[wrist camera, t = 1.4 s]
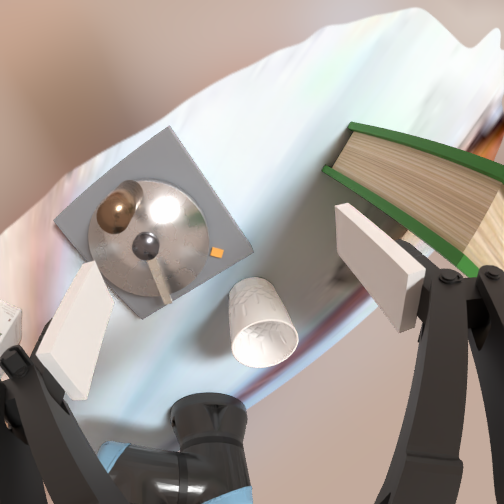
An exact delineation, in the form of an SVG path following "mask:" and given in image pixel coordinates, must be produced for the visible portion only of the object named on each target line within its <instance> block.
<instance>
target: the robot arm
mask: <svg viewBox="0 0 504 504" xmlns="http://www.w3.org/2000/svg"><path fill="white" fill-rule="evenodd" d="M335 219H336V239H337V253H338V255H339V256H340V257H341V258H342V260H343V261H344V262H345V263H346V265H347V266H348V267H349V268H350V270H351V271H352V272H353V273H354V275H355V276H356V277H357V279H358V280H359V281H360V282H361V284H362V285H363V286H364V288H365V289H366V290H367V291H368V293H369V294H370V295H371V297H372V298H373V299H374V301H375V302H376V303H377V305H378V306H379V307H380V309H381V310H382V311H383V313H384V314H385V315H386V317H387V318H388V319H389V321H390V322H391V323H392V325H393V326H394V328H395V329H396V330H397V332H398V333H401V332H404V331H407V330H409V329H412V328H414V327H415V323H416V319H417V316H418V317H419V318H420V319H421V321H422V322H423V323H422V327H421V331H420V335H419V339H418V342H419V347H418V353H417V359H416V365H415V370H414V376H413V381H412V386H411V391H410V396H409V400H408V404H407V408H406V412H405V416H404V420H403V424H402V428H401V432H400V435H399V439H398V442H397V446H396V449H395V452H394V455H393V458H392V461H391V464H390V467H389V470H388V473H387V476H386V479H385V482H384V484H383V486H382V488H381V490H380V492H379V494H378V496H377V499H376V501H375V503H374V504H455V503H456V500H457V496H458V492H459V488H460V483H461V479H462V473H463V462H462V461H461V460H460V459H459V449H460V443H461V437H462V430H463V422H464V413H465V403H466V390H467V370H468V340H469V344H470V347H471V351H472V354H473V358H474V362H475V366H476V369H477V374H478V378H479V382H480V387H481V391H482V396H483V401H484V405H485V411H486V417H487V422H488V430H489V436H490V444H491V452H492V463H493V475H494V487H495V496H496V501H497V504H504V271H503V270H502V269H500V268H499V267H497V266H494V265H484V266H482V267H480V268H479V271H478V275H477V277H472V278H463V276H462V275H461V274H460V273H458V272H456V271H454V270H451V269H439V268H438V267H437V266H436V265H434V264H433V263H432V262H431V261H430V260H429V259H428V258H427V257H425V256H424V255H422V253H421V252H420V251H418V250H417V249H416V248H415V247H414V246H412V245H411V244H410V243H408V242H406V241H403V240H401V239H398V240H395V241H394V240H393V239H392V238H390V237H389V236H388V235H387V234H386V233H385V232H383V231H382V230H381V229H380V228H379V227H377V226H376V225H375V224H374V223H373V222H371V221H370V220H369V219H368V218H367V217H365V216H364V215H363V214H362V213H360V212H359V211H358V210H357V209H355V208H354V207H353V206H352V205H350V204H349V203H345V204H340V205H335ZM113 306H114V301H113V299H112V297H111V295H110V293H109V291H108V288H107V286H106V284H105V282H104V280H103V278H102V275H101V273H100V271H99V269H98V267H97V264H96V262H95V261H91V262H87V263H84V264H82V266H81V268H80V269H79V271H78V273H77V275H76V276H75V278H74V280H73V282H72V283H71V285H70V287H69V289H68V290H67V292H66V294H65V296H64V298H63V300H62V301H61V303H60V305H59V307H58V309H57V311H56V313H55V315H54V317H53V318H51V320H50V321H49V322H48V323H47V324H46V325H45V327H44V329H43V331H42V333H41V335H40V337H39V339H38V342H37V343H36V345H35V347H34V350H33V352H32V354H31V356H30V358H29V357H28V355H27V354H26V353H25V351H24V350H23V348H22V347H21V346H20V345H14V346H12V347H10V348H8V349H7V350H6V351H5V352H4V353H3V354H2V355H1V357H0V367H1V368H2V369H3V371H4V372H5V373H6V374H7V375H8V377H9V378H10V379H7V380H5V381H1V380H0V504H48V503H47V499H46V494H45V490H44V485H43V482H44V484H45V486H46V488H47V491H48V493H49V495H50V496H51V499H52V501H53V503H54V504H253V498H252V486H251V484H250V479H249V474H248V469H247V464H246V458H245V453H244V448H243V439H244V434H245V429H246V424H247V412H246V408H245V406H244V404H243V403H242V402H241V401H240V400H238V399H236V398H234V397H232V396H229V395H225V394H220V393H200V394H194V395H190V396H187V397H184V398H182V399H180V400H179V401H177V402H176V403H175V404H174V405H173V407H172V409H171V424H172V427H173V429H174V432H175V434H176V437H177V439H178V442H179V444H180V452H174V451H167V450H160V449H153V448H148V447H142V446H137V445H132V444H131V443H120V442H114V441H107V442H105V443H103V444H102V445H101V447H100V449H99V451H98V453H97V456H96V454H95V453H94V451H93V449H92V448H91V446H90V444H89V443H88V441H87V439H86V438H85V436H84V434H83V432H82V430H81V429H80V427H79V425H78V423H77V421H76V419H75V418H74V416H73V414H72V412H71V410H70V408H69V406H68V404H67V403H66V402H65V401H64V399H63V397H64V394H65V392H66V393H67V395H68V396H69V397H70V398H71V399H72V400H87V398H88V394H89V390H90V386H91V382H92V378H93V374H94V370H95V366H96V362H97V359H98V355H99V352H100V348H101V345H102V341H103V338H104V335H105V331H106V328H107V325H108V322H109V318H110V315H111V312H112V309H113ZM5 421H6V422H7V423H8V427H9V428H7V426H6V424H5ZM42 479H43V480H42Z"/></svg>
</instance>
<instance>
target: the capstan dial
mask: <svg viewBox="0 0 504 504" xmlns="http://www.w3.org/2000/svg"><path fill="white" fill-rule="evenodd" d="M88 241H89V248H90V252H91V255H92V258H93V260H94V261H95V262H96V264H97V267H98V269H99V270H100V271H101V273H102V274H103V275H104V276H105V277H106V278H107V279H108V280H109V281H110V282H112V283H113V284H114V285H116V286H117V287H119V288H121V289H123V290H125V291H127V292H129V293H133V294H136V295H141V296H150V297H154V296H161V297H162V300H163V302H164V304H165V305H166V304H171V303H172V298H171V296H170V294H171V293H174V292H177V291H179V290H181V289H183V288H184V287H186V286H187V285H189V284H190V283H191V282H192V281H193V280H194V279H195V278H196V277H197V276H198V275H199V273H200V272H201V270H202V269H203V267H204V265H205V262H206V260H207V256H208V252H209V231H208V225H207V221H206V218H205V215H204V213H203V211H202V209H201V207H200V206H199V204H198V203H197V201H196V200H195V199H194V198H193V197H192V196H191V195H190V194H189V193H188V192H187V191H185V190H184V189H182V188H181V187H179V186H178V185H176V184H173V183H171V182H169V181H166V180H162V179H157V178H139V179H134V180H126V181H123V182H122V183H120V184H119V185H118V186H117V187H116V188H115V189H113V190H112V191H111V192H110V193H109V194H108V195H107V196H106V197H105V198H104V199H103V200H102V201H101V202H100V204H99V205H98V206H97V208H96V209H95V211H94V213H93V215H92V218H91V221H90V225H89V231H88Z"/></svg>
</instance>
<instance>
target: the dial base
mask: <svg viewBox="0 0 504 504" xmlns="http://www.w3.org/2000/svg"><path fill="white" fill-rule="evenodd" d="M139 178H157V179H162V180H166V181H169V182H171V183H173V184H176V185H178V186H179V187H181V188H182V189H184V190H185V191H187V192H188V193H189V194H190V195H191V196H192V197H193V198H194V199H195V200H196V201H197V203H198V204H199V206H200V207H201V209H202V211H203V213H204V215H205V218H206V221H207V225H208V231H209V252H208V256H207V260H206V262H205V265H204V267H203V269H202V270H201V272H200V273H199V275H198V276H197V277H196V278H195V279H194V280H193V281H192V282H191V283H190V284H189V285H187V286H186V287H184V288H183V289H181V290H179V291H177V292H174V293H171V294H170V296H171V298H172V301H174V300H176V299H177V298H179V297H181V296H182V295H184V294H186V293H187V292H189V291H191V290H192V289H194V288H196V287H197V286H199V285H201V284H202V283H204V282H206V281H207V280H209V279H211V278H212V277H214V276H216V275H217V274H219V273H221V272H222V271H224V270H226V269H227V268H229V267H230V266H232V265H234V264H235V263H237V262H239V261H240V260H242V259H244V258H245V257H247V256H249V255H250V254H252V253H254V251H253V249H252V246H251V244H250V243H249V241H248V240H247V238H246V237H245V235H244V234H243V232H242V231H241V229H240V228H239V226H238V225H237V224H236V222H235V221H234V219H233V218H232V216H231V215H230V213H229V212H228V210H227V209H226V207H225V206H224V204H223V203H222V202H221V200H220V199H219V197H218V196H217V194H216V193H215V191H214V190H213V188H212V187H211V185H210V184H209V182H208V181H207V180H206V178H205V177H204V175H203V174H202V172H201V171H200V169H199V168H198V166H197V165H196V163H195V162H194V161H193V159H192V158H191V156H190V155H189V153H188V152H187V150H186V149H185V147H184V146H183V144H182V143H181V142H180V140H179V139H178V137H177V136H176V134H175V133H174V131H173V130H172V128H171V127H170V126H168V127H167V128H165V129H164V130H162V131H161V132H159V133H158V134H157V135H155V136H154V137H152V138H151V139H150V140H148V141H147V142H145V143H144V144H143V145H141V146H140V147H139V148H137V149H136V150H135V151H133V152H132V153H131V154H129V155H128V156H127V157H126V158H124V159H123V160H122V161H120V162H119V163H118V164H117V165H115V166H114V167H113V168H112V169H110V170H109V171H108V172H107V173H105V174H104V175H103V176H102V177H101V178H99V179H98V180H97V181H96V182H95V183H94V184H92V185H91V186H90V187H89V188H88V189H87V190H85V191H84V192H83V193H82V194H81V195H80V196H79V197H78V198H76V199H75V200H74V201H73V202H72V203H71V204H70V205H69V206H68V207H67V208H66V209H64V210H63V211H62V212H61V213H60V214H59V215H58V216H57V217H56V218H55V219H54V220H53V221H54V222H55V223H56V225H57V226H58V227H59V228H60V230H61V231H62V232H63V233H64V235H65V236H66V237H67V238H68V240H69V241H70V242H71V243H72V244H73V246H74V247H75V248H76V249H77V250H78V251H79V253H80V254H81V255H82V256H83V257H84V258H85V260H86V261H87V262H91V261H94V260H93V258H92V255H91V252H90V248H89V241H88V231H89V225H90V221H91V218H92V215H93V213H94V211H95V209H96V208H97V206H98V205H99V204H100V202H101V201H102V200H103V199H104V198H105V197H106V196H107V195H108V194H109V193H110V192H111V191H112V190H113V189H115V188H116V187H117V186H118V185H119V184H120V183H122V182H123V181H126V180H134V179H139ZM99 271H100V270H99ZM100 273H101V271H100ZM101 275H102V278H103V280H104V281H105V282H106V283H107V284H108V285H109V286H110V287H111V288H112V289H113V291H114V292H115V293H116V294H117V295H118V296H119V297H120V298H121V299H122V300H123V301H124V302H125V303H126V304H127V305H128V306H129V307H130V308H131V309H132V310H133V311H134V312H135V313H136V314H137V315H138V316H139V317H140V318H141V319H144V318H146V317H147V316H149V315H151V314H152V313H154V312H156V311H157V310H159V309H161V308H162V307H164V306H166V305H167V304H166V305H165V304H164V302H163V300H162V297H161V296H154V297H150V296H141V295H136V294H133V293H129V292H127V291H125V290H123V289H121V288H119V287H117V286H116V285H114V284H113V283H112V282H110V281H109V280H108V279H107V278H106V277H105V276H104V275H103V274H102V273H101Z"/></svg>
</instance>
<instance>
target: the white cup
mask: <svg viewBox="0 0 504 504" xmlns="http://www.w3.org/2000/svg"><path fill="white" fill-rule="evenodd" d="M228 303H229V327H230V337H231V349H232V353H233V356H234V357H235V359H236V360H237V361H238V362H240V363H241V364H243V365H246V366H249V367H254V368H264V367H270V366H273V365H276V364H279V363H281V362H282V361H284V360H286V359H287V358H288V357H289V356H290V355H291V354H292V353H293V352H294V351H295V349H296V347H297V345H298V333H297V331H296V329H295V327H294V325H293V323H292V321H291V319H290V316H289V314H288V312H287V310H286V308H285V307H284V305H283V303H282V301H281V299H280V297H279V296H278V295H277V293H276V290H275V288H274V286H273V285H272V284H271V283H270V282H268V281H267V280H266V279H263V278H258V277H251V278H245V279H243V280H241V281H240V282H238V283H236V284H235V285H234V287H233V288H232V289H231V291H230V292H229V301H228Z"/></svg>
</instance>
